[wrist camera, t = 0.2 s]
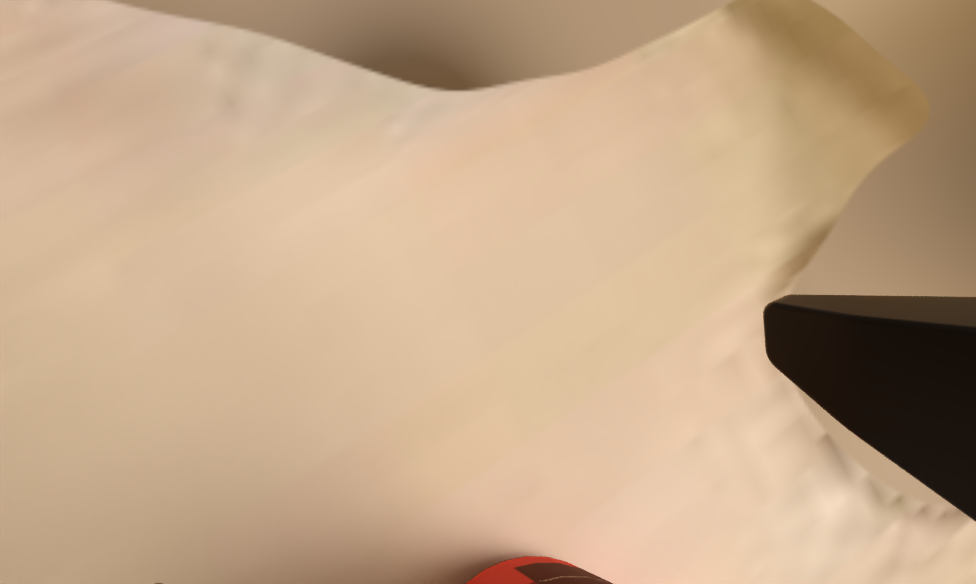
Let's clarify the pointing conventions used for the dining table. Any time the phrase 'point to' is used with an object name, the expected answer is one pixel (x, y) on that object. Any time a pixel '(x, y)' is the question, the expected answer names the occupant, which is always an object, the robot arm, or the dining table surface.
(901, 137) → the dining table surface
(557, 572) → the canned food
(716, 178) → the dining table surface
